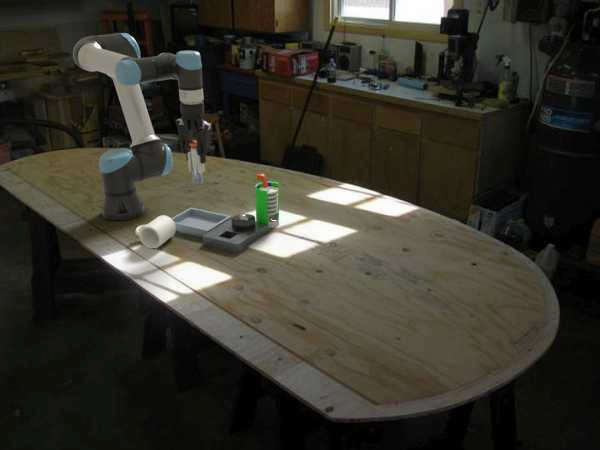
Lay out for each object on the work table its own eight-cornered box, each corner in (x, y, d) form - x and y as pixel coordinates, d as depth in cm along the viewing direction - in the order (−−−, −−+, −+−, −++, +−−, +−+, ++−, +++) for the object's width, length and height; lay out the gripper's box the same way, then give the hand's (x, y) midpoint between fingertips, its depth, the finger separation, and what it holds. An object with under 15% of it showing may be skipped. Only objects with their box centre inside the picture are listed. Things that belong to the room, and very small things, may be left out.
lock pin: (189, 183, 203) (186, 142, 197) (196, 179, 206) (193, 139, 200) (199, 185, 201) (196, 144, 195) (206, 181, 204) (203, 141, 198)
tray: (166, 229, 210) (165, 221, 209) (191, 214, 221) (191, 207, 220) (208, 239, 202) (207, 230, 201) (232, 223, 213) (231, 216, 212)
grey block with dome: (203, 244, 198) (201, 225, 195) (234, 224, 212) (233, 207, 210) (238, 252, 192) (237, 234, 189) (268, 231, 206) (267, 214, 204)
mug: (177, 238, 203) (175, 216, 200) (161, 250, 194) (159, 228, 191) (146, 233, 207) (143, 212, 203) (129, 246, 198) (126, 223, 195)
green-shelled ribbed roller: (275, 229, 208) (274, 180, 201) (253, 228, 210) (250, 179, 202) (281, 219, 216) (280, 171, 209) (260, 217, 218) (257, 170, 210)
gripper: (164, 101, 192) (170, 170, 202) (205, 107, 185) (209, 178, 195) (179, 96, 198) (184, 164, 208) (219, 102, 191) (223, 171, 201)
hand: (197, 171), depth 202 cm, fingers closed on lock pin, 3 cm apart
